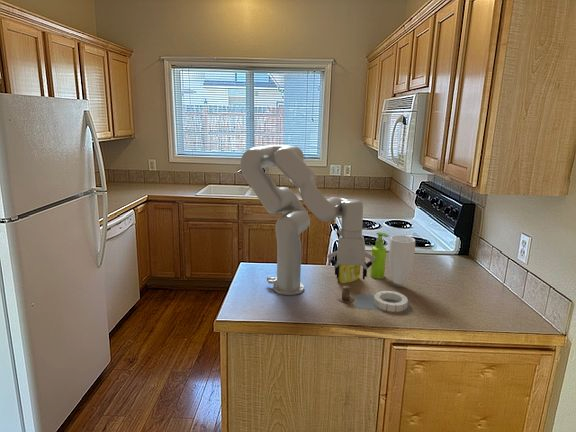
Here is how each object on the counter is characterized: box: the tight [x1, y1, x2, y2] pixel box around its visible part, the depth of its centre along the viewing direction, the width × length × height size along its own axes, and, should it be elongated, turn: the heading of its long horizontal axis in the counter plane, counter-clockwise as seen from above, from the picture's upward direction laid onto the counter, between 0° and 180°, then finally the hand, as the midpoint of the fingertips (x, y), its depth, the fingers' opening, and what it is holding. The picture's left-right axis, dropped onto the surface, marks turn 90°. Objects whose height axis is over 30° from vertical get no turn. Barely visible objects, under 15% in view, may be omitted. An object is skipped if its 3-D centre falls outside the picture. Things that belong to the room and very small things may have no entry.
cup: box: [388, 234, 416, 285], centre depth 162 cm, size 10×10×22 cm
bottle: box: [336, 264, 361, 284], centre depth 168 cm, size 12×6×20 cm, turn 123°
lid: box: [336, 285, 355, 304], centre depth 152 cm, size 6×6×6 cm
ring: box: [373, 290, 409, 313], centre depth 149 cm, size 12×12×2 cm
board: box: [354, 293, 412, 315], centre depth 150 cm, size 20×12×1 cm, turn 79°
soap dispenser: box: [369, 231, 390, 280], centre depth 174 cm, size 6×7×20 cm
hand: (350, 277), depth 150 cm, fingers open, 9 cm apart
